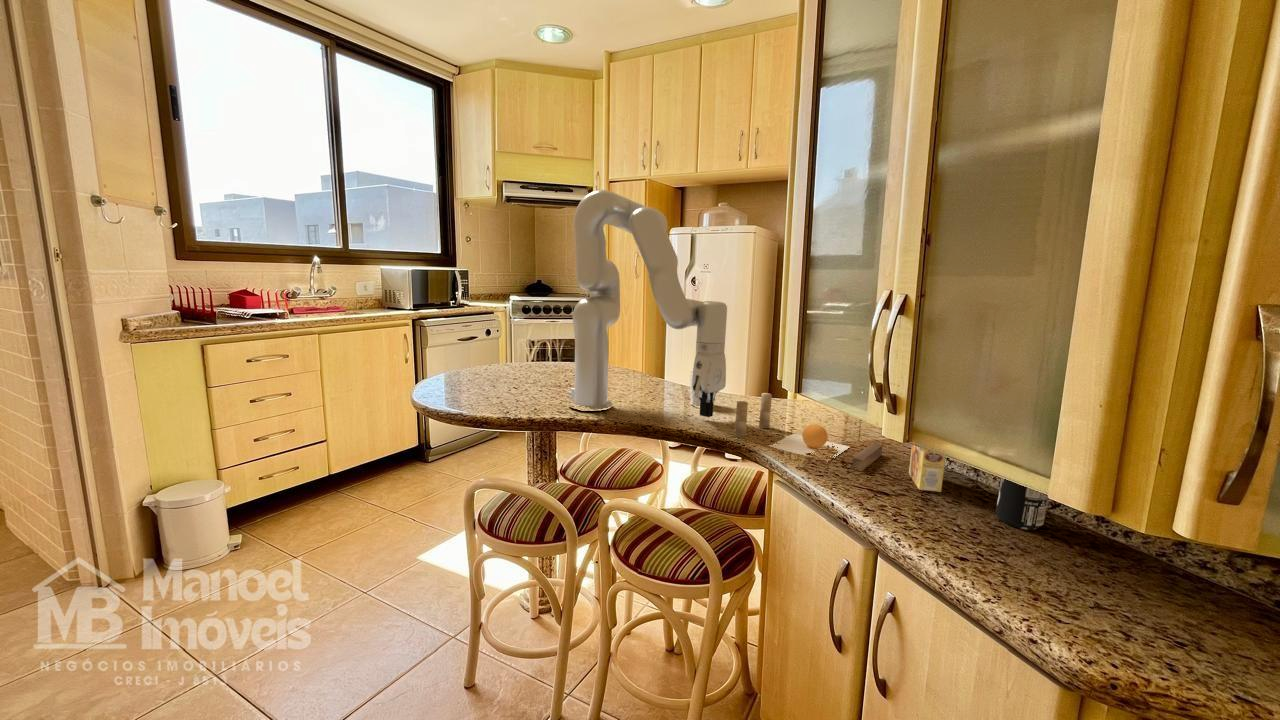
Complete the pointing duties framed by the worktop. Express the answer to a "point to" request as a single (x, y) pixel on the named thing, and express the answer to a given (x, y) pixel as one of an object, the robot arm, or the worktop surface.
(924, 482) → the candy box
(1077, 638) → the worktop surface
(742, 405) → the post
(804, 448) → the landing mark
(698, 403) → the white cup
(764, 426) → the post
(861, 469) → the stopper wall
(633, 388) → the worktop surface
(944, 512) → the worktop surface
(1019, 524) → the beverage can
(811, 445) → the ball
